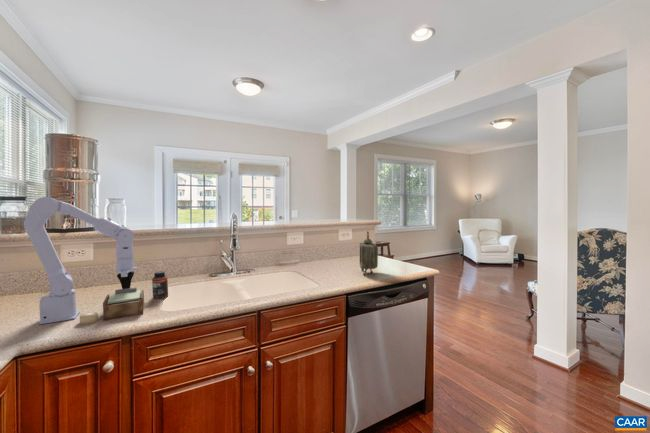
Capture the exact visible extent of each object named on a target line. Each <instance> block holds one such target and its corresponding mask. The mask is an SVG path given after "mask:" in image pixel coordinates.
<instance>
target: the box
mask: <svg viewBox="0 0 650 433" xmlns="http://www.w3.org/2000/svg"><path fill="white" fill-rule="evenodd" d="M144 292H145V290H144V289H141V294H140V299H139V300H133V301H126V302H119V303H112V304H107V302H108V300H109V298H110V294H106V296H105V298H104V300H103V303H102V315H103V317H102V318H103V321H109V320H115V319H120V318H126V317H132V316H139V315H143V314H144V308H145V293H144Z"/></svg>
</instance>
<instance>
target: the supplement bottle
mask: <svg viewBox="0 0 650 433" xmlns="http://www.w3.org/2000/svg"><path fill="white" fill-rule="evenodd" d="M153 275H154V276H153V278H152V279H151V287H152V298H153V299H155V300H160V299H165V298H167V297H168V296H169V285H168V284H169V283H168V276H167V275H166V273H165V271H163V270H158V271H155V272H154V274H153Z"/></svg>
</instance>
